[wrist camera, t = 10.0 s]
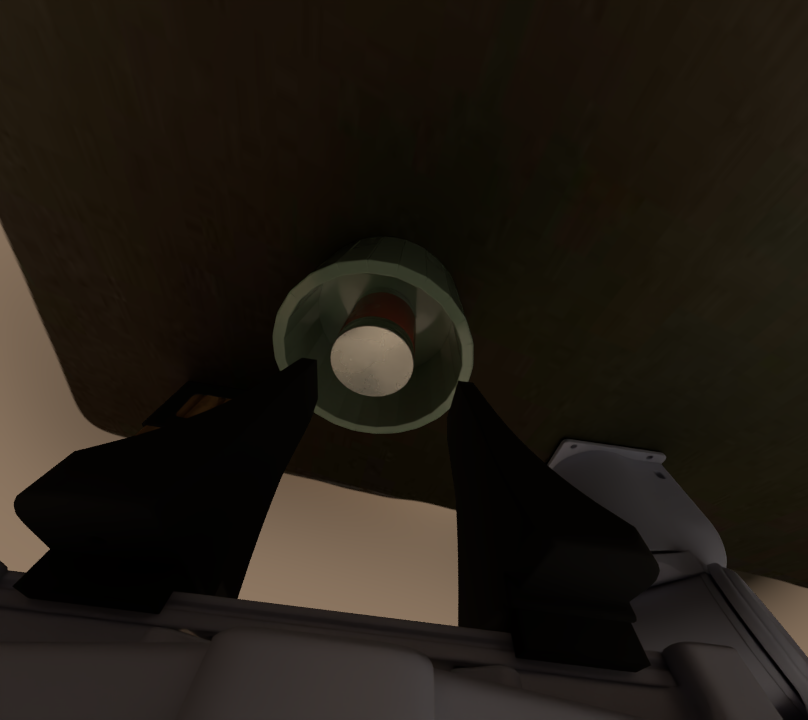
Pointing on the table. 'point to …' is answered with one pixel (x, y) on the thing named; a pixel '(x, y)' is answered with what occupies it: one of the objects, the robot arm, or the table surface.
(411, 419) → the cup
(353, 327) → the tin can
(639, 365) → the table surface
